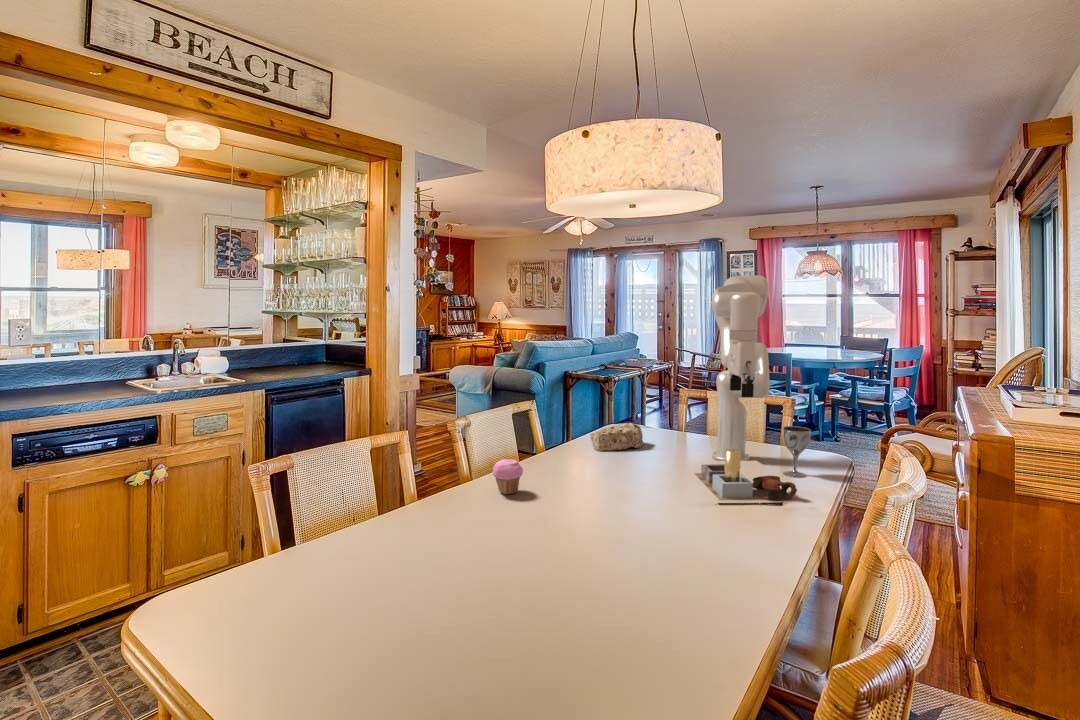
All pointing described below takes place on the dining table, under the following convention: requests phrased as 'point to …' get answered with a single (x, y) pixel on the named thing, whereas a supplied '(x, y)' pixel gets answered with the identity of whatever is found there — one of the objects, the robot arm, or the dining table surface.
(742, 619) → the dining table surface
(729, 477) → the brass cylinder
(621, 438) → the rock
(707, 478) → the tool board
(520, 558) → the dining table surface
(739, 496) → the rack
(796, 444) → the wine glass
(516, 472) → the cupcake
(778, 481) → the pottery mug
